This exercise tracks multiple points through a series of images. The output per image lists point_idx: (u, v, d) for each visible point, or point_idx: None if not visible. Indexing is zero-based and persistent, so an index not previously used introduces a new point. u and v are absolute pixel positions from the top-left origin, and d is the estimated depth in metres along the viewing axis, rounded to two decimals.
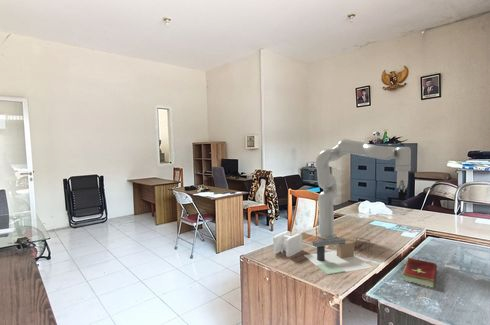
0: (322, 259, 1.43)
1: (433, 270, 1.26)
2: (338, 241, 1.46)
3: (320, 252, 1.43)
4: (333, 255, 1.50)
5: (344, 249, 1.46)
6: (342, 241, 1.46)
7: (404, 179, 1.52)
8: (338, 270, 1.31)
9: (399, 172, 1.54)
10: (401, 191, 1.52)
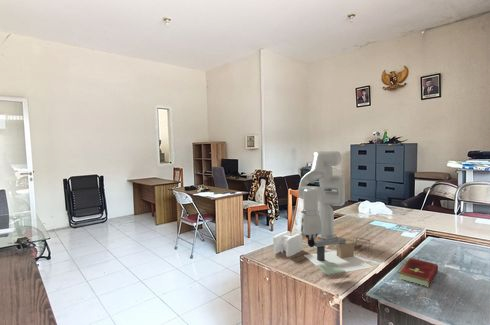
0: (322, 259, 1.43)
1: (432, 270, 1.26)
2: (338, 241, 1.46)
3: (320, 252, 1.43)
4: (333, 255, 1.50)
5: (344, 249, 1.46)
6: (342, 241, 1.46)
7: None
8: (338, 270, 1.31)
9: None
10: None
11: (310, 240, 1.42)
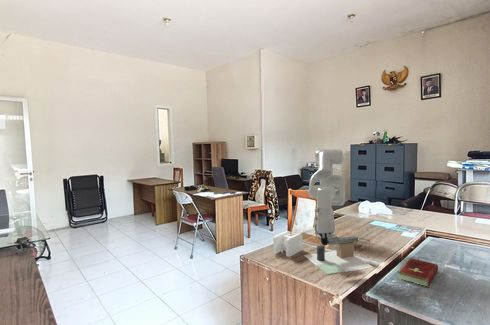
0: (322, 259, 1.43)
1: (431, 270, 1.26)
2: (351, 239, 1.48)
3: (320, 252, 1.43)
4: (333, 255, 1.50)
5: (344, 249, 1.46)
6: (355, 239, 1.48)
7: None
8: (338, 270, 1.31)
9: None
10: None
11: (323, 238, 1.44)
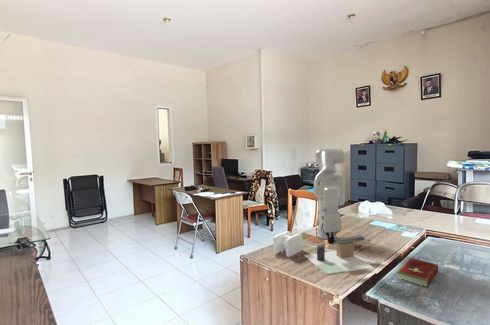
0: (322, 259, 1.43)
1: (431, 270, 1.26)
2: (357, 239, 1.49)
3: (320, 252, 1.43)
4: (333, 255, 1.50)
5: (344, 249, 1.46)
6: (361, 239, 1.49)
7: None
8: (338, 270, 1.31)
9: None
10: None
11: (330, 237, 1.45)
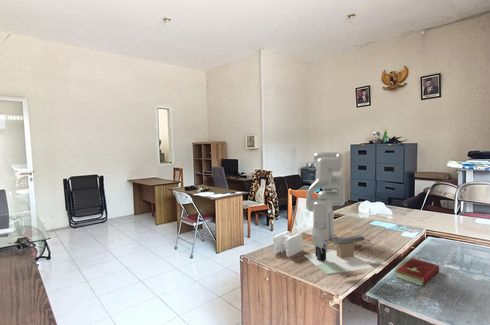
0: None
1: (430, 270, 1.25)
2: (357, 239, 1.49)
3: (320, 252, 1.43)
4: (333, 255, 1.50)
5: (344, 249, 1.46)
6: (361, 239, 1.49)
7: (327, 238, 1.40)
8: (338, 270, 1.31)
9: (322, 231, 1.39)
10: (324, 252, 1.41)
11: (316, 250, 1.47)
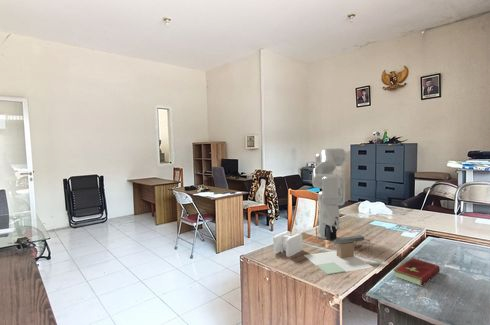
0: None
1: (429, 270, 1.25)
2: (357, 239, 1.49)
3: (330, 231, 1.31)
4: (333, 255, 1.50)
5: (344, 249, 1.46)
6: (361, 239, 1.49)
7: (338, 215, 1.28)
8: (338, 270, 1.31)
9: (333, 207, 1.28)
10: (334, 231, 1.29)
11: (325, 229, 1.35)
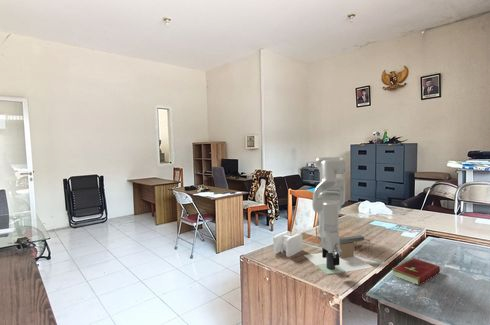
0: (332, 267, 1.32)
1: (428, 270, 1.25)
2: (357, 239, 1.49)
3: (330, 260, 1.32)
4: None
5: (344, 249, 1.46)
6: (361, 239, 1.49)
7: (338, 241, 1.29)
8: (338, 270, 1.31)
9: (333, 234, 1.28)
10: (337, 257, 1.28)
11: None
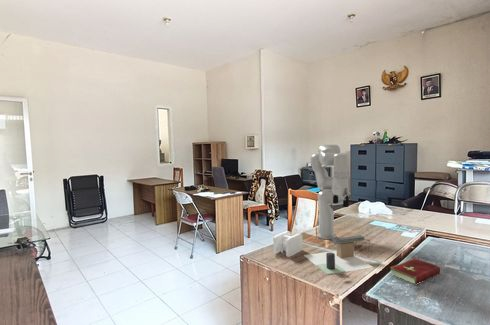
0: (332, 267, 1.32)
1: (427, 271, 1.25)
2: (357, 239, 1.49)
3: (330, 260, 1.32)
4: None
5: (344, 249, 1.46)
6: (361, 239, 1.49)
7: (347, 186, 1.49)
8: (338, 270, 1.31)
9: (343, 180, 1.49)
10: (347, 199, 1.48)
11: None
